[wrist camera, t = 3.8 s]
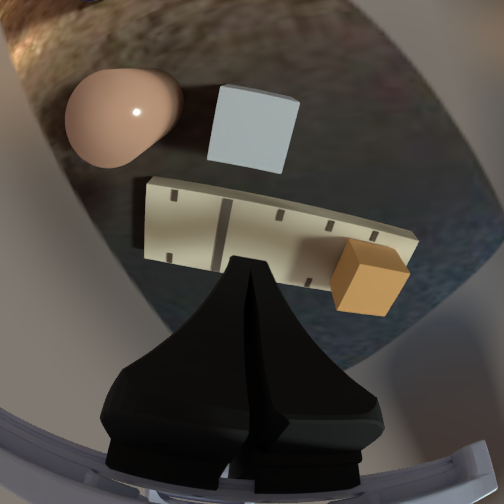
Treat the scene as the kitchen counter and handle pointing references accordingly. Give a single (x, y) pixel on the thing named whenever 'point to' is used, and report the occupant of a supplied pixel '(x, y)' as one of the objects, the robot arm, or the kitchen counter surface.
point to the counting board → (256, 232)
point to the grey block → (252, 128)
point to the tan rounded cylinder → (121, 114)
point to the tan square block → (367, 278)
